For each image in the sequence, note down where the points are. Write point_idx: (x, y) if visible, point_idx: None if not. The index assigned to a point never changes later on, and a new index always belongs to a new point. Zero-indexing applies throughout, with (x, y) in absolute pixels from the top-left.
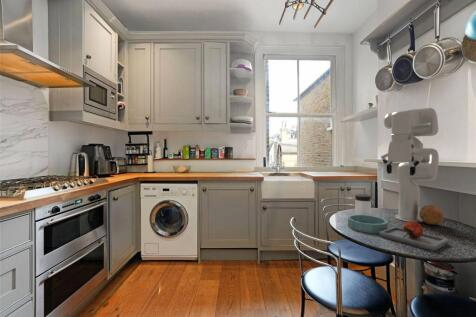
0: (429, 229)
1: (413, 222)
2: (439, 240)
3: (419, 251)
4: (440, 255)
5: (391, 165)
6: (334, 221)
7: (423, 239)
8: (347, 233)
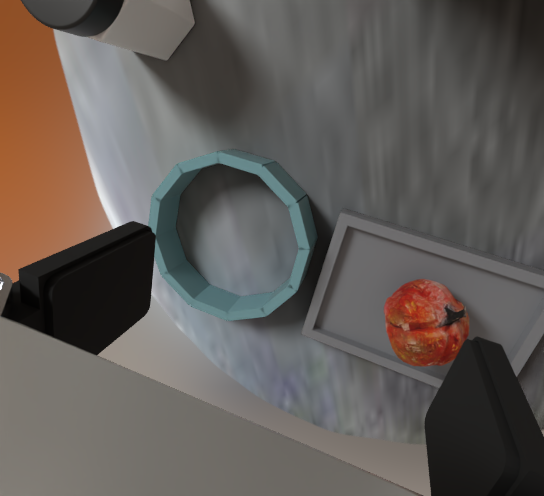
0: (510, 47)
1: (429, 358)
2: (531, 285)
3: None
4: None
5: (52, 297)
6: None
7: None
8: (212, 350)
